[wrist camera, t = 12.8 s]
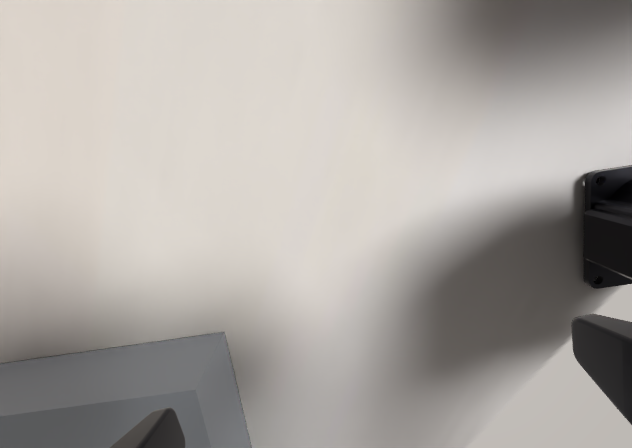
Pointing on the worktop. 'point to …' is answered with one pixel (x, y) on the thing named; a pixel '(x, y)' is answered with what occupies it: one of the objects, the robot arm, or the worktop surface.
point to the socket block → (123, 395)
